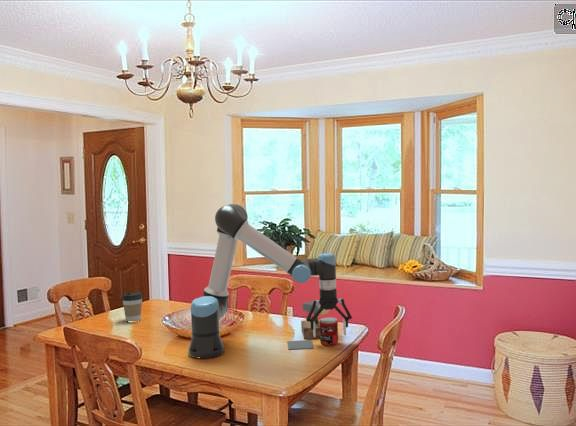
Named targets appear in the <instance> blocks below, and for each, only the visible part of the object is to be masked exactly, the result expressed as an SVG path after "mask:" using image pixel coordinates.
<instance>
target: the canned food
mask: <svg viewBox="0 0 576 426" xmlns="http://www.w3.org/2000/svg"><path fill="white" fill-rule="evenodd" d="M319 320H320V338H319V339H320V344H321V346H323V347H334V346H335V347H336V346H337V345H338V344H339V328H338V326H339V322H338V318H336V317H322V318H320V319H319Z"/></svg>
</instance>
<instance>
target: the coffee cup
mask: <svg viewBox="0 0 576 426" xmlns="http://www.w3.org/2000/svg"><path fill="white" fill-rule="evenodd" d="M143 299H144V297H143V294H142V293H141V292H140V291H131V292H125V293H123V295H122V296H121V301H122V305H123V310H124V311H123V312H124V315H125V320H126V322H127V321H138V320H140V321H141V318H142V307H143V306H142V305H143V304H142V303H143Z"/></svg>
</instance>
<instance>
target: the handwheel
mask: <svg viewBox="0 0 576 426" xmlns="http://www.w3.org/2000/svg"><path fill="white" fill-rule="evenodd" d="M312 304H313V301H310V300H309V301H307V302H303V303H302V311H303V312H308V313H309V311H310V309H311V307H312ZM320 306H321V305H320V304H319V303H318V304H317V305H316V307H315V309H314V311H313V315H314V314H315V313H316V311H317V310H318V309H319V307H320ZM328 313H330V309H328V310H325V309H323V311H322V312H321V313H320V314H319V315H320V316H321V315H325V314H328ZM318 320H319V316H318V317H317V318H316V319H315V323H318Z"/></svg>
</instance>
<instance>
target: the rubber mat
mask: <svg viewBox="0 0 576 426" xmlns="http://www.w3.org/2000/svg"><path fill="white" fill-rule="evenodd" d="M286 343H287V348H288V351H293V350H295V351H297V350H299V351H300V350H314V349H315V347H314V345H313V341H312V339H303V340H287V341H286Z"/></svg>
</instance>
